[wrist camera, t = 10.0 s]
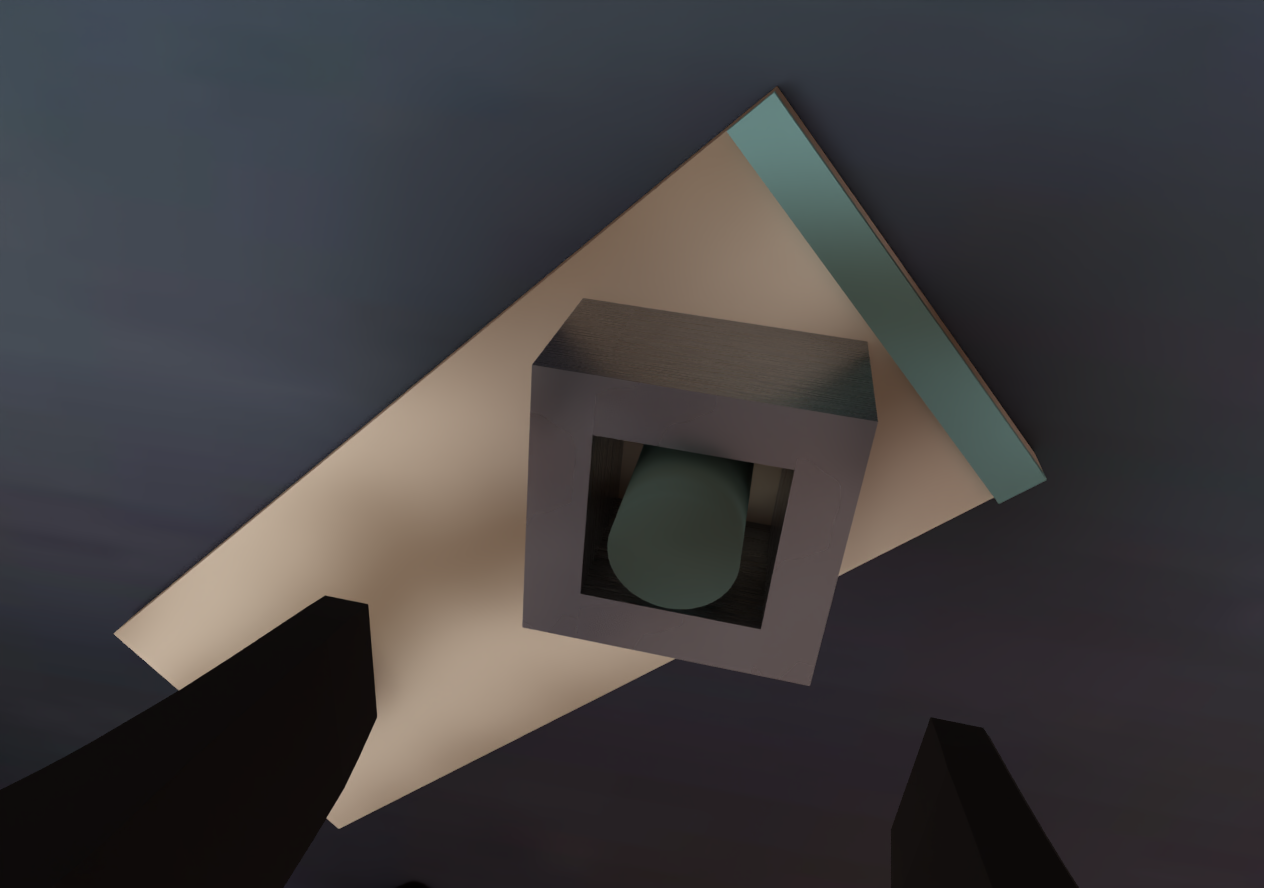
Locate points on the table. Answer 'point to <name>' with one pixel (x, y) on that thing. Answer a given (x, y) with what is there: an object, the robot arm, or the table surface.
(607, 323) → the collar
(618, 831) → the table surface
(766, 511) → the board
